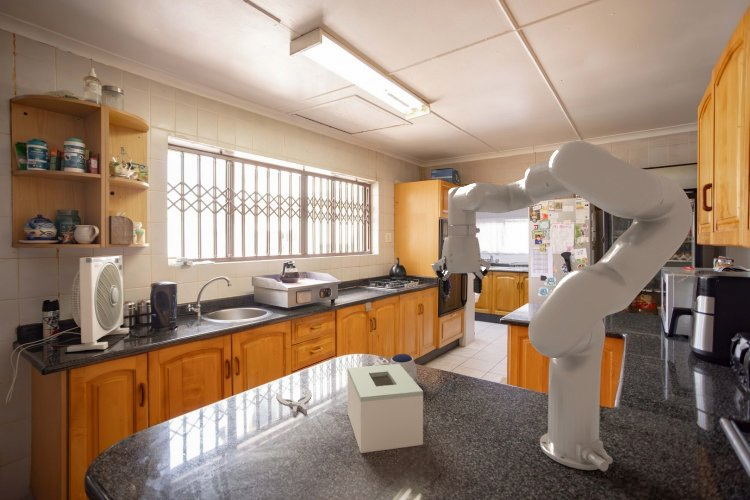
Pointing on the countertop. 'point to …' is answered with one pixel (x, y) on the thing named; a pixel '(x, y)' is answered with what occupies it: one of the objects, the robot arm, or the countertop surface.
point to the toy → (401, 359)
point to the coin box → (384, 407)
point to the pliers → (296, 403)
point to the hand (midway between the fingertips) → (461, 293)
